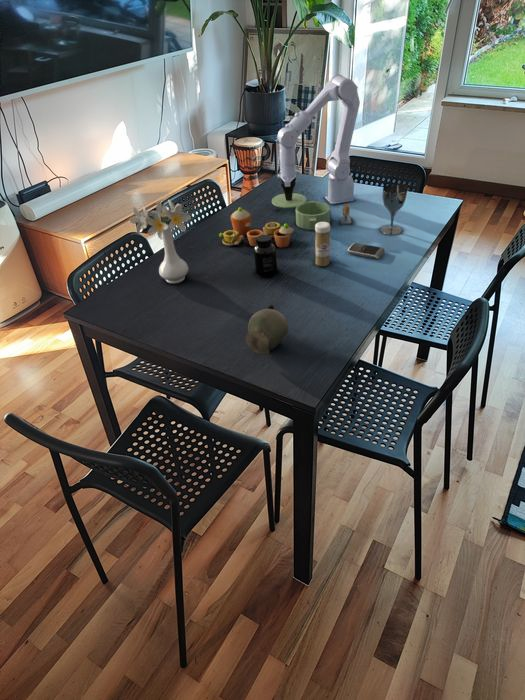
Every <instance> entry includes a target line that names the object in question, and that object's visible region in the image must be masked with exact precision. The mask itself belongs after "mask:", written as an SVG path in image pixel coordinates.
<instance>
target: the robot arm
mask: <svg viewBox="0 0 525 700" xmlns="http://www.w3.org/2000/svg"><path fill="white" fill-rule="evenodd" d="M358 87H359V86H358V85H357V84H356V83H355V81H354V80H353V79H350V78H347V77H345V76H343V75H342V74H335V75H333V76H332V77H331V78H330V80H329V81H327V82H326V83H325V85H324V87H323V89H322V90H321V91H320V92H319V93H318V95H316V97H315V98H314V99H313V100H312V102H311V103H310V104H309V105H308V107H307V108H305V110H299V112H295V114H294V117H293V118H292V119H291V120H290V121H289V122H288V123H286V124H285V126H284V127H282V128H280V129H279V131H278V132H277V135H276V141H278V143H279V168H280V169H279V171H280V173H278V174H277V178H279V179H280V180H281V181H280V186H281V188H282V190H283V194H285V198H286V200H292V195H293V193H294V189H295V186H296V184H297V182H296V180H297V167H296V165H297V163H296V144H297V143H298V139H299V137H300V136H301V135H302V134H303V133H305V131H306V130H307V129H308V127H309V126H310V125H312V119H313V117H315V115H316V114H318V112H319V111H321V110H322V109H323V107H324V106H326V105H327V104H328V103H329V102H333V101H335V102H336V101H339V100H340V102H341V104H342V106H343V109H342V113H341V118H340V122H339V128H338V132H337V137H336V142H335V146H334V150H333V151H332V152H331V153H330V157H329V159H328V160H327V162H326V166H325V167H326V170H327V171H328V193H327V195H325V196H324V199H325V200H327V201H328V203H329V204H331V205H337V204H342V203H348V202H353V201H355V199H354V191H355V190H354V189H355V181H354V179H353V176H352V175H350V174H351V166H350V165H351V164H350V163H351V159H350V155H349V153H350V149H351V144H352V140H353V135H354V131H355V126H356V123H357V122H356V121H357V117H358V113H359V109H360V104H361V101H360V96H359V93H358Z"/></svg>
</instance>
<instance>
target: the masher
mask: <svg viewBox="0 0 525 700" xmlns="http://www.w3.org/2000/svg"><path fill="white" fill-rule="evenodd" d="M350 208H351V207H350V205H349V204H343V205H342V216H340V225H352V218H351V216H350V213H351V212H350V210H351V209H350Z"/></svg>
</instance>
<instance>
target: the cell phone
mask: <svg viewBox="0 0 525 700" xmlns="http://www.w3.org/2000/svg"><path fill="white" fill-rule="evenodd" d="M347 253H348V254H349V255H354V256H359V257H365V258H368V259H369V258H370V259H374V260H375V259H376V260H378V259H380V258H381V257H383V255H384V253H385V248H384V247H381V246H375V245H370V244H365V243H359V242H354V243H352V244H351V245H350V247H348V249H347Z"/></svg>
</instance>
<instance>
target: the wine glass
mask: <svg viewBox="0 0 525 700" xmlns="http://www.w3.org/2000/svg"><path fill="white" fill-rule="evenodd" d="M407 196H408V187H407V186H406V185H403V184H397V183H393V184H386V185H384V186H383V187H382V204H383V206H384V208H385V209H386V210H387V212H388V213H389V214H390V225H386V226H383V227H382V228H381V229H380V232H381V233H382V234H385V235H388V236H394V235H399V234H401V233H402V232H403V229H402V228H401V227H399V226H397V225H394V220H395V216H396V214H397V213H398V212H399V211H400V210H401V209H402V208H403V207H404V205H405V202H406V199H407Z"/></svg>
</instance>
